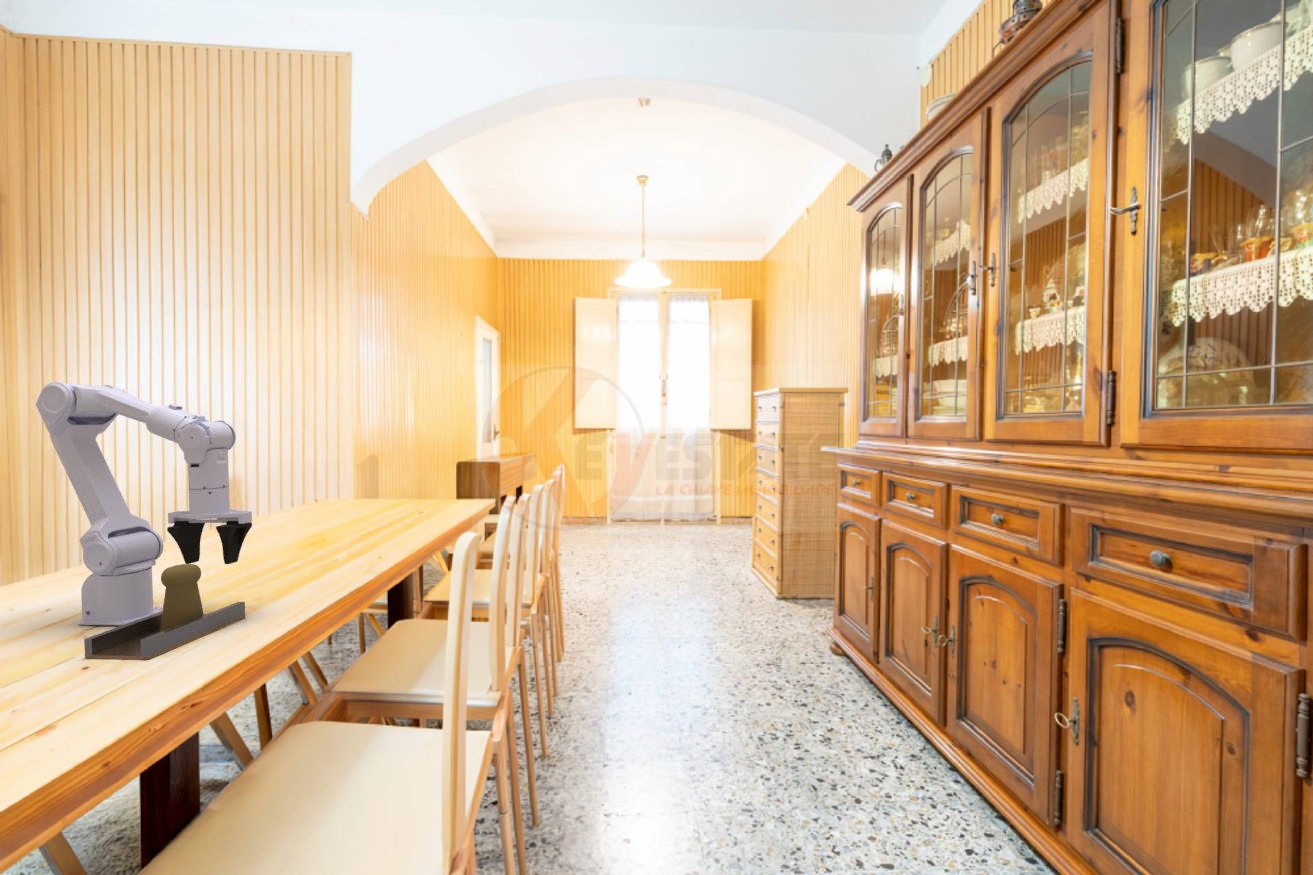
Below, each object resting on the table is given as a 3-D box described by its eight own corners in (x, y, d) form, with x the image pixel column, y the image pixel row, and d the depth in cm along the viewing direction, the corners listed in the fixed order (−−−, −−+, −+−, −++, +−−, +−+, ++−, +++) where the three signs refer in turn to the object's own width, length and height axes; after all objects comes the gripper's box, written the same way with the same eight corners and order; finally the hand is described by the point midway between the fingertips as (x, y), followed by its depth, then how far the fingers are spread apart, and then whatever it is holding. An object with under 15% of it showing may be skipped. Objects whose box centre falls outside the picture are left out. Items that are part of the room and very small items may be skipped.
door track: (85, 658, 85) (84, 638, 85) (192, 617, 103) (191, 601, 103) (148, 659, 84) (147, 639, 84) (245, 618, 102) (244, 601, 102)
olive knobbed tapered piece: (178, 637, 92) (176, 570, 91) (150, 634, 93) (147, 569, 93) (215, 624, 97) (212, 561, 97) (187, 622, 99) (185, 560, 99)
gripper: (264, 485, 104) (266, 557, 105) (192, 485, 105) (194, 557, 106) (232, 489, 97) (235, 567, 98) (155, 490, 98) (158, 566, 99)
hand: (211, 562), depth 101 cm, fingers open, 7 cm apart
